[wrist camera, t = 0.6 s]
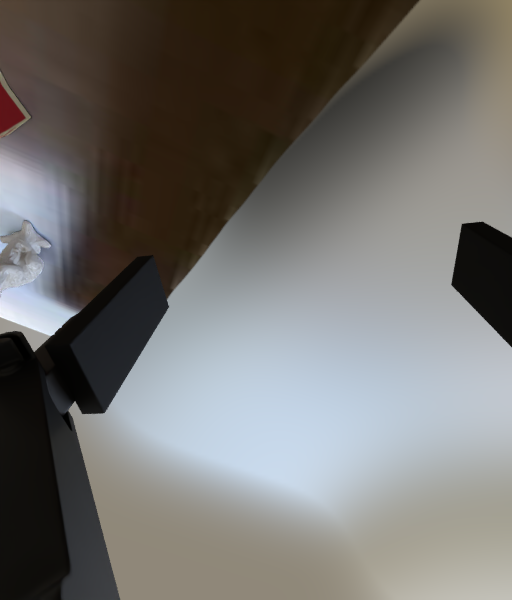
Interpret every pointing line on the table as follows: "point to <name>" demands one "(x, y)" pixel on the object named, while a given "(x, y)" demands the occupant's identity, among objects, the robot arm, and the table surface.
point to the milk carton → (10, 110)
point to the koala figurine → (21, 257)
